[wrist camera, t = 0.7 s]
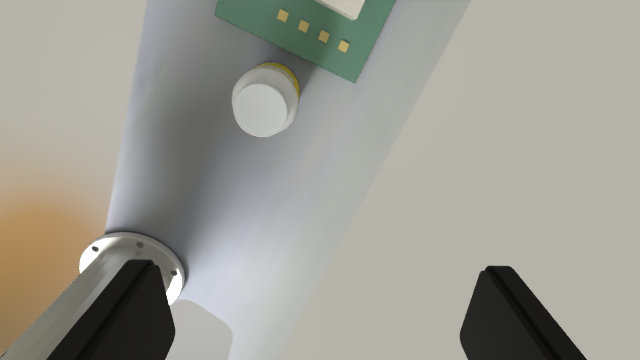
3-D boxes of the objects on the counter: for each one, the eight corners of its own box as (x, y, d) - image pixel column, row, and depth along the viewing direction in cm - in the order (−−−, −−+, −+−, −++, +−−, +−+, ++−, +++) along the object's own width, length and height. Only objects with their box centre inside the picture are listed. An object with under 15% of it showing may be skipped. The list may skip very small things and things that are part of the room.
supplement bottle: (283, 125, 33) (273, 159, 24) (237, 97, 32) (209, 122, 23) (310, 80, 31) (310, 100, 22) (263, 49, 30) (242, 56, 21)
